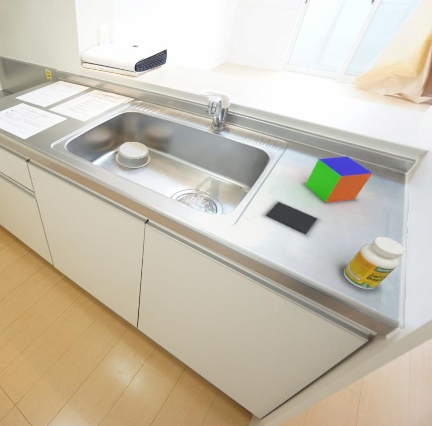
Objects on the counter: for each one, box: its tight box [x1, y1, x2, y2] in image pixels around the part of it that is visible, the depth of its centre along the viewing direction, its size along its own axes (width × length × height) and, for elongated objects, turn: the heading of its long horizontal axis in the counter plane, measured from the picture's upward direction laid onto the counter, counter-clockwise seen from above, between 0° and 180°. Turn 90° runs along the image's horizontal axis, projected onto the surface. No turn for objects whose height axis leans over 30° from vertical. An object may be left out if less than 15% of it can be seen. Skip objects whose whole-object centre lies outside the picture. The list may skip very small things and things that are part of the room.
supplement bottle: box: [343, 236, 405, 290], centre depth 51 cm, size 5×5×10 cm
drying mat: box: [266, 201, 318, 235], centre depth 67 cm, size 9×7×1 cm
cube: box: [304, 156, 373, 203], centre depth 72 cm, size 8×8×8 cm
